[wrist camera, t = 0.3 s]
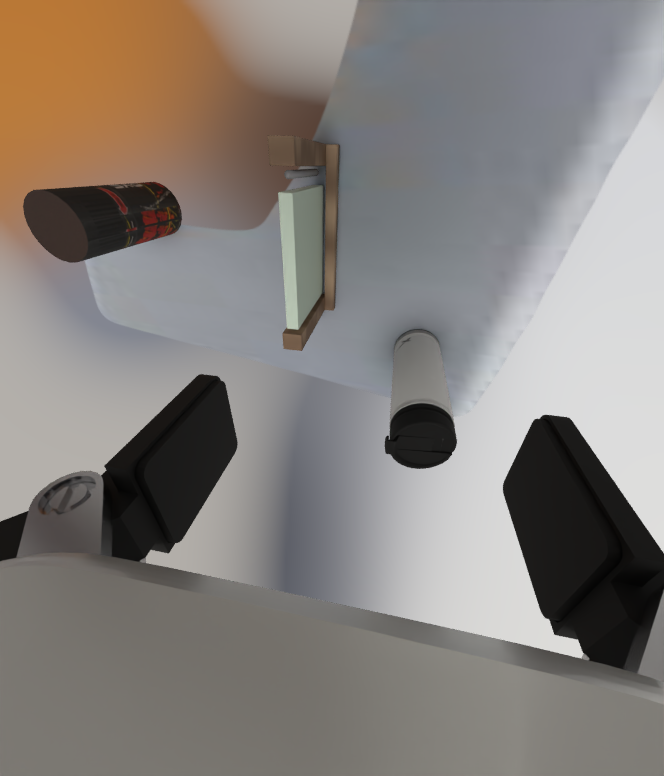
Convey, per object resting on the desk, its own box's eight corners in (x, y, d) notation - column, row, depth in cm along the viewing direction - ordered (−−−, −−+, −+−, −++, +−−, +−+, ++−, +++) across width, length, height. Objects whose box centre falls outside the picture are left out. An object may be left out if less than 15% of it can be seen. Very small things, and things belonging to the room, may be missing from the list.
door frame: (310, 144, 34) (267, 135, 23) (339, 145, 33) (309, 136, 23) (312, 305, 44) (283, 348, 34) (334, 307, 44) (312, 352, 33)
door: (305, 168, 35) (266, 169, 25) (323, 168, 34) (291, 170, 25) (308, 290, 42) (279, 327, 33) (322, 292, 42) (298, 329, 32)
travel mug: (393, 327, 44) (386, 422, 28) (443, 330, 43) (466, 429, 27) (390, 366, 47) (382, 469, 31) (435, 369, 46) (452, 478, 30)
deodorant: (152, 238, 43) (53, 266, 31) (129, 187, 40) (9, 196, 28) (189, 230, 41) (100, 257, 29) (168, 177, 38) (59, 183, 26)
